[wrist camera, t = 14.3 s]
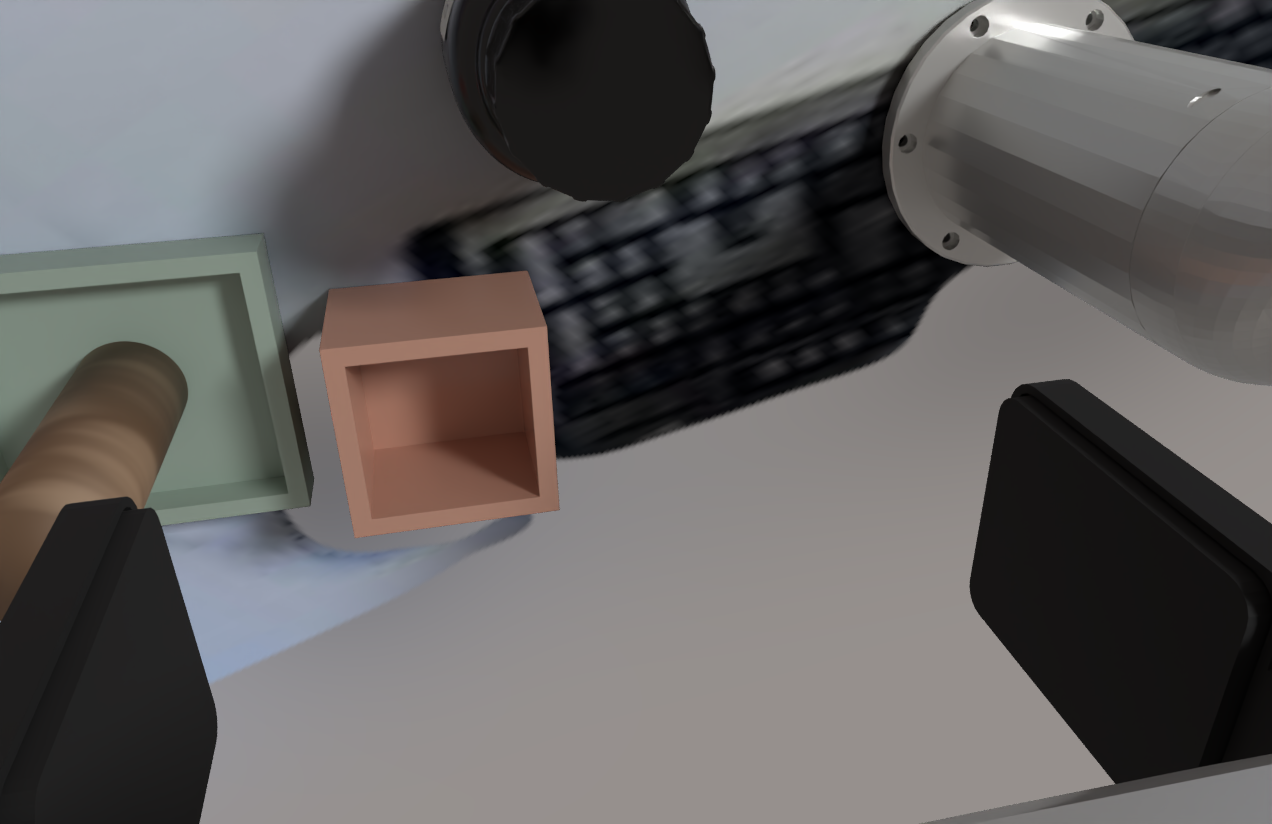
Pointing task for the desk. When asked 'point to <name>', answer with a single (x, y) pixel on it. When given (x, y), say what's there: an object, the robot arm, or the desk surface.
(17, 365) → the sage tray
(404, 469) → the terracotta box
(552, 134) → the ink bottle
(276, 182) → the desk surface
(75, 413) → the walnut peg
